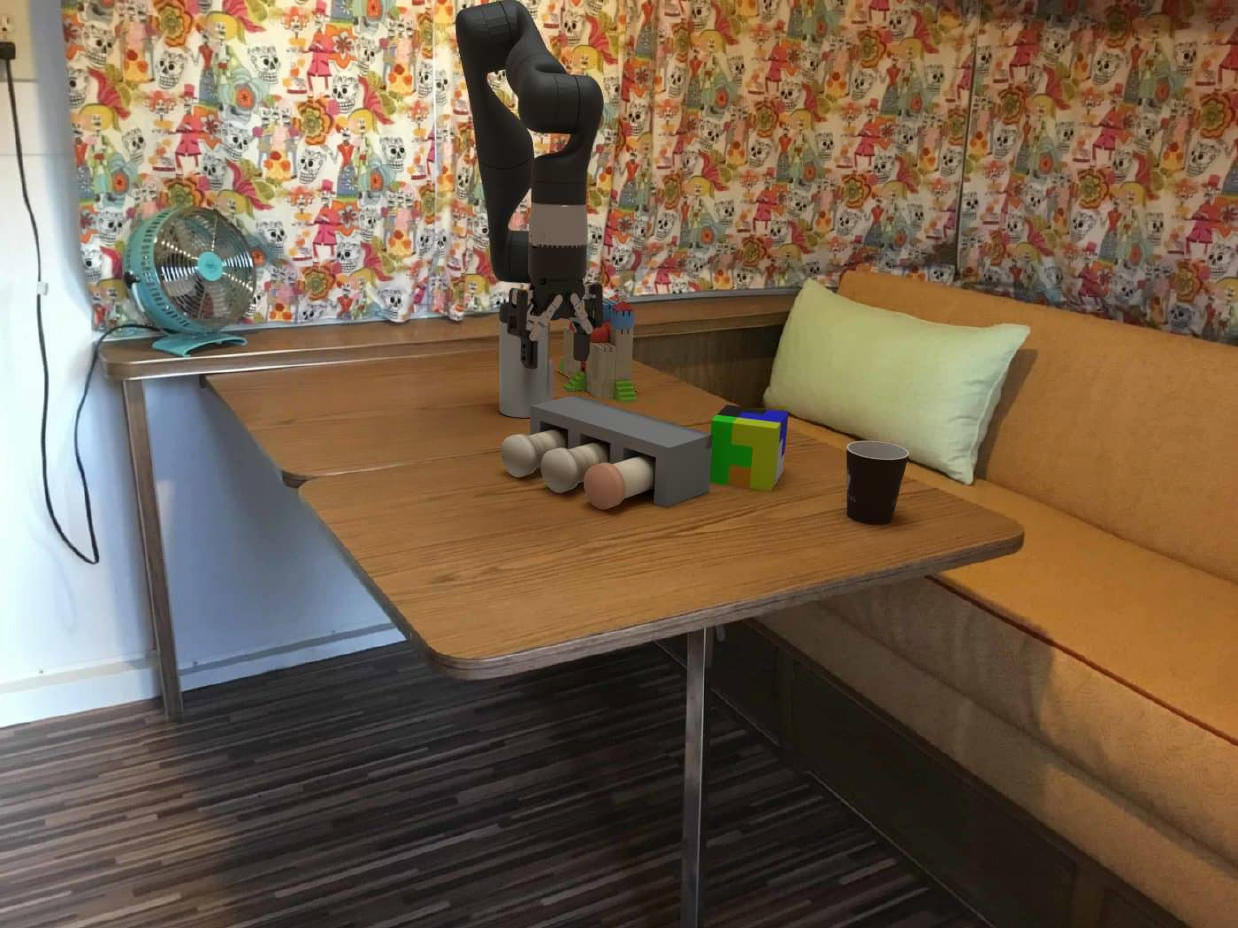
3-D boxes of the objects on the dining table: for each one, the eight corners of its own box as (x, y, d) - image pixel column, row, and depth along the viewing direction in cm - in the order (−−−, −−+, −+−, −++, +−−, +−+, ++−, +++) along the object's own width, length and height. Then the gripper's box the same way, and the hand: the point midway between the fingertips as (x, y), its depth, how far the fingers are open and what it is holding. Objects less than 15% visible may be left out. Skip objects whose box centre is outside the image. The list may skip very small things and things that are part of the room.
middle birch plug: (588, 471, 160) (589, 432, 158) (618, 482, 156) (619, 442, 154) (540, 486, 153) (541, 445, 151) (570, 497, 149) (571, 455, 146)
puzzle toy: (782, 472, 164) (788, 412, 161) (771, 491, 155) (776, 428, 152) (722, 463, 167) (726, 404, 164) (707, 482, 158) (711, 420, 155)
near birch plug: (548, 458, 165) (549, 420, 163) (576, 467, 161) (577, 428, 159) (501, 471, 158) (501, 431, 156) (528, 481, 154) (529, 441, 152)
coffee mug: (889, 532, 141) (898, 463, 138) (830, 518, 145) (837, 451, 142) (914, 508, 151) (923, 443, 147) (857, 495, 155) (865, 432, 152)
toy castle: (542, 372, 223) (543, 283, 217) (602, 368, 228) (605, 282, 222) (588, 405, 198) (591, 306, 192) (654, 400, 203) (659, 304, 197)
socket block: (573, 446, 173) (575, 395, 170) (708, 491, 154) (712, 434, 151) (529, 459, 166) (530, 405, 163) (665, 507, 147) (669, 447, 144)
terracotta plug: (630, 486, 154) (632, 446, 152) (662, 498, 150) (665, 456, 148) (583, 502, 147) (584, 460, 145) (615, 514, 143) (617, 471, 141)
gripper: (581, 235, 138) (578, 354, 143) (495, 239, 129) (495, 365, 134) (618, 241, 133) (614, 363, 138) (531, 245, 124) (530, 376, 129)
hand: (555, 364), depth 136 cm, fingers open, 8 cm apart
